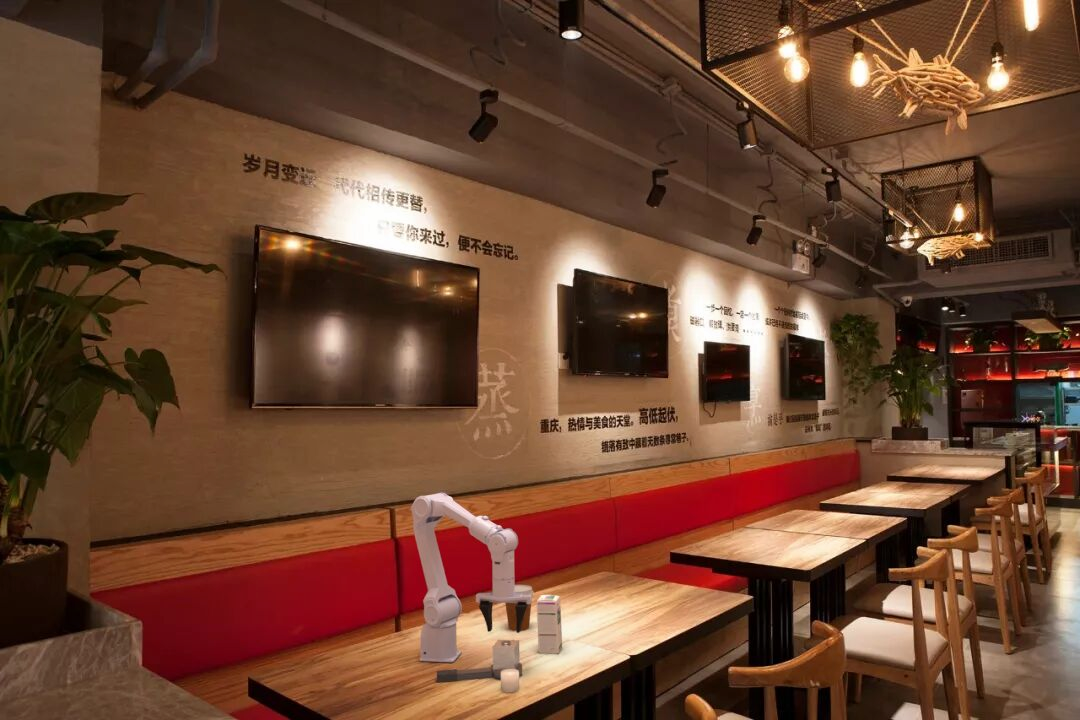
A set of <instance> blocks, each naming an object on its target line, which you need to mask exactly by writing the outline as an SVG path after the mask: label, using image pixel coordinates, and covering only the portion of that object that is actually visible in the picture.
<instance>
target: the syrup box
mask: <svg viewBox="0 0 1080 720" xmlns="http://www.w3.org/2000/svg"><path fill="white" fill-rule="evenodd" d="M561 607H562V606H561V596H560V595H559V594H542V595H541V594H540V597H538V598H537V600H536V613H537V614H536V615H537V617H536V618H537V619H536V620H537V643H538V645H537V646H538V653H539V654H545V653H549V654H548V655H550V654H551V655H558V653H559V654H560V652H561V650H562V648H563V638H562V637H563V635H562V612H561V611H562V610H561ZM552 653H553V654H552Z"/></svg>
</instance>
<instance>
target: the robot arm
mask: <svg viewBox="0 0 1080 720" xmlns="http://www.w3.org/2000/svg"><path fill="white" fill-rule="evenodd" d="M410 511H411V513H412V518H413V519H412V520H413V521H412V529H413V534H414V537H415V538H414V539H415V542H416V547H417V550H418V554H419V555H418V556H419V558H420V561H421V562H420V563H421V566H422V571H423V575H424V579H425V583H426V587H427V592H426V594H425V596H424V599H423V600H422V602H423V605H424V606H423V608H424V609H423V617H424V620H425V622H426V623H424V624H423V625H422V627H421V629H420V638H419V639H420V644H419V645H420V658H419V661H420V662H434V663H454V662H455V661H456V660H457V659H458V658H459V656H461V654H462V650H457V649H458V648H457V647H458V646H457V622H458V617H460V616H461V614H462V610H463V609H462V607H463V606H462V602H461V600H460V599H459V598H458V596H457V593H456V590H455V589H454V588H452V587H451V586H450V585H448V580H447V577H446V574H445V572H446V571H445V568H444V565H443V561H442V557H441V553H440V549H439V545H438V541H437V536H436V533H435V529H436V526H437V525H438V523H439V522H440V521H441V520H442V519H443V518H444V517H448V518H450V519H451V520H453V521H455V522H457V523H459V524H460V525H462V526H464V527H467V528H468V532H469V534H470V535H471V536H473V537H474V538H475V539H476V540H478V541H480V542H481V543H483V544H485V545H486V546H487V548H488V551H489V553H490V558H491V561H492V563H491V564H492V592H478V593H477V594H476V595H475V603H479V605H478V608H479V610H480V612H481V614H482V616H483V618H484V622H485V626H486V629H487V632H488V633H490V632H491V631H492V630H493V607H494V606H493V604H494V603H518V604H517V605H516V606H515V609H516V619H517V623H516V631H515V632H516V634H520V633H521V625H522V621H523V617H524V614H525V611H526V609H527V606H528V604H531V605H532V603H533V595H526V594H519V593H515V585H516V584H515V550H516V549H517V547H518V545H519V538H518V535H517V533H516V532H515V531H513V529H512V528H505V529H504V528H503V527H502V526H501V525H498V524H496V523H494V522H492V521H491V520H490V519H489V518H490V517H489V516H487V515H478V516H475V515H474V514H472V513H471V512H470V511H468V510H467V509H465V508H464V507H463V506H461V505H460V504H459V503H457V502H456V501H455V500H454V499H453V497H452V496H449V494H446V493H445V492H437V493H433V494H428V495H420V496H417V497H416V498H415V500H414V501H413V503H412V505H411V507H410Z"/></svg>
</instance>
